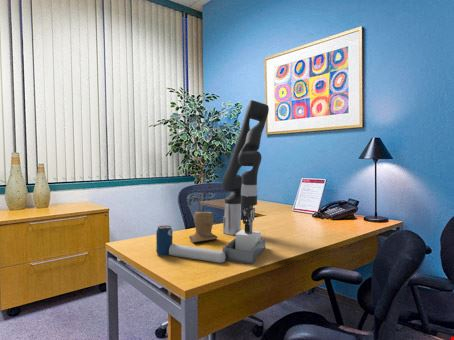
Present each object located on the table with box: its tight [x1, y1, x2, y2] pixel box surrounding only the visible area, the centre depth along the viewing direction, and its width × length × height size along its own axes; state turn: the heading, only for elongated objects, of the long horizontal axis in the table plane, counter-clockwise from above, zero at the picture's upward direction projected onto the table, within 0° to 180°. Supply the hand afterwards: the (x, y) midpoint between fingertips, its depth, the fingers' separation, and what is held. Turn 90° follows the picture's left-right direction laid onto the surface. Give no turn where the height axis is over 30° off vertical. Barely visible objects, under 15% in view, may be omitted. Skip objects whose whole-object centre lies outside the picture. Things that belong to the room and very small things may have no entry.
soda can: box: [155, 225, 174, 257], centre depth 135 cm, size 7×7×12 cm
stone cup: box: [188, 211, 219, 244], centre depth 158 cm, size 15×12×15 cm
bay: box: [221, 237, 266, 265], centre depth 137 cm, size 13×24×5 cm, turn 161°
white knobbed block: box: [234, 221, 262, 251], centre depth 142 cm, size 10×9×12 cm
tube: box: [168, 243, 226, 264], centre depth 129 cm, size 5×5×25 cm
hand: (248, 231), depth 141 cm, fingers closed on white knobbed block, 3 cm apart
